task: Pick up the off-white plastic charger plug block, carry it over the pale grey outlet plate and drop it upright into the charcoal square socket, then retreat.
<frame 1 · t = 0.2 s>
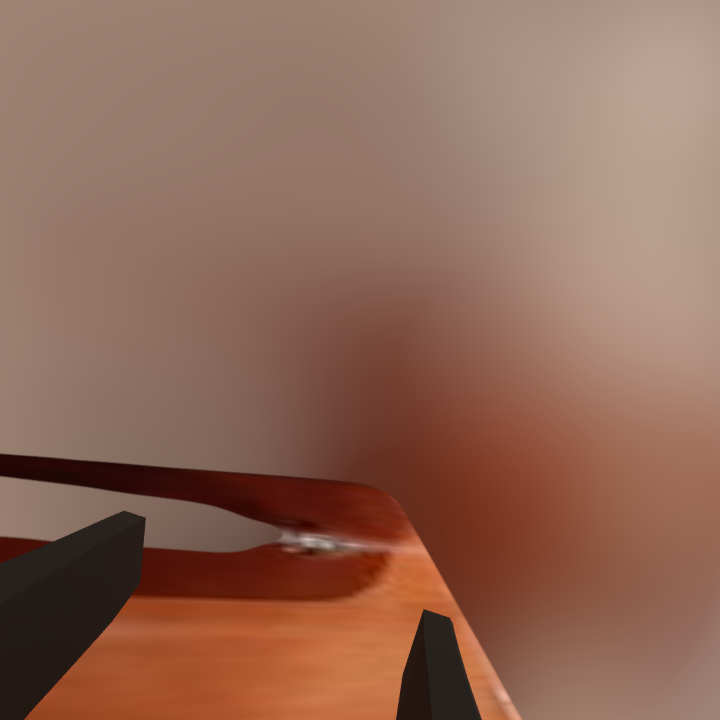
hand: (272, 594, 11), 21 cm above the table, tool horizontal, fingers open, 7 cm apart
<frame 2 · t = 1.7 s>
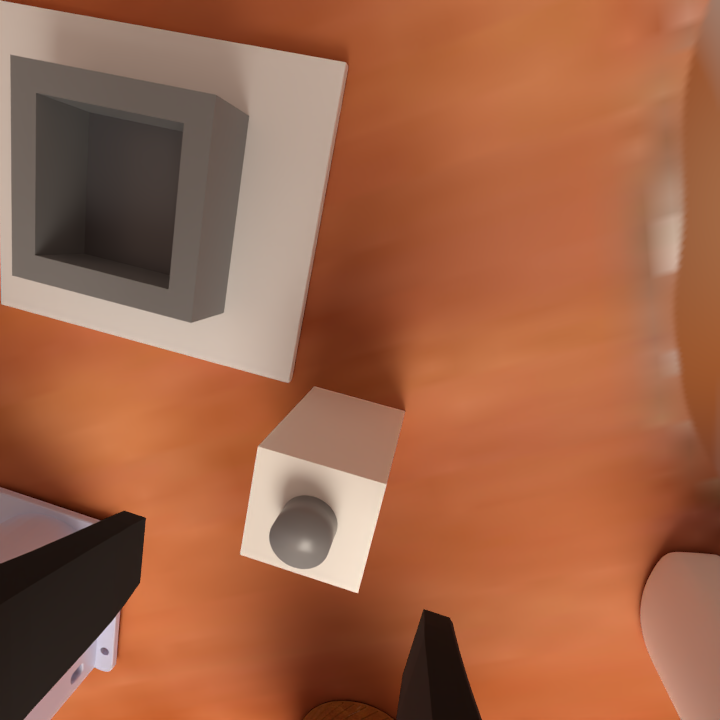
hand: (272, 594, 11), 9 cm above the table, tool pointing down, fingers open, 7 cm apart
eye dropper bottle: (681, 602, 19), on the table
charger plug block: (349, 440, 20), on the table
socket dock: (155, 201, 19), on the table
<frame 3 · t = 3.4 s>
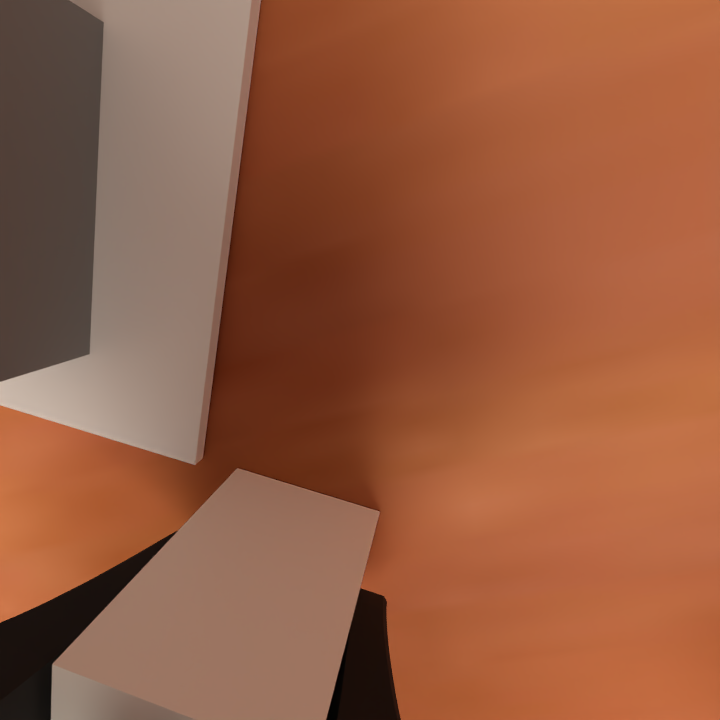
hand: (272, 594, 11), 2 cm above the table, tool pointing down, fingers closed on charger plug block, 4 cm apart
charger plug block: (294, 550, 13), on the table, touching gripper
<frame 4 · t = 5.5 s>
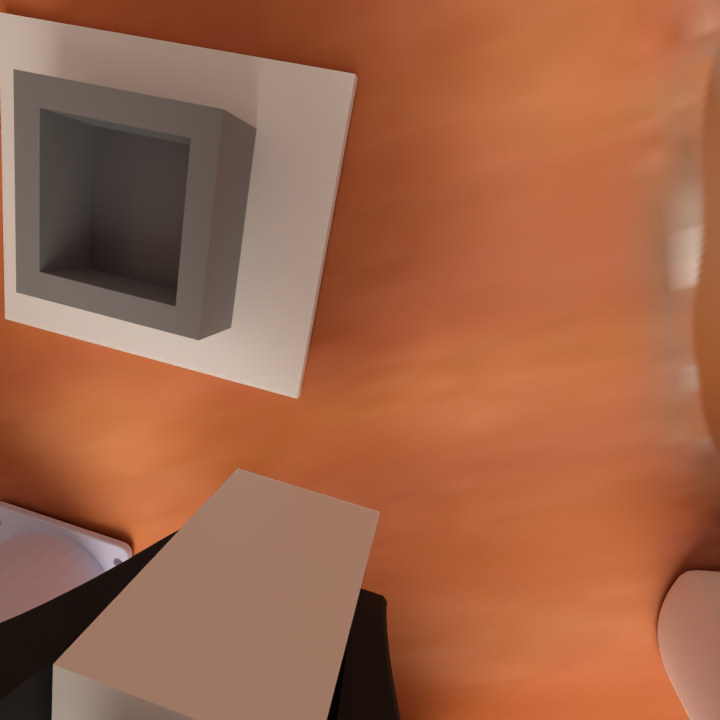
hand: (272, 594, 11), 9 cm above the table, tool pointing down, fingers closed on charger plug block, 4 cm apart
eye dropper bottle: (700, 620, 18), on the table
charger plug block: (294, 550, 13), point 7 cm above the table, touching gripper
socket dock: (161, 214, 18), on the table
when the fingers open (4 cm above the table, at t = 7.9 s): charger plug block drops 1 cm, resting on socket dock.
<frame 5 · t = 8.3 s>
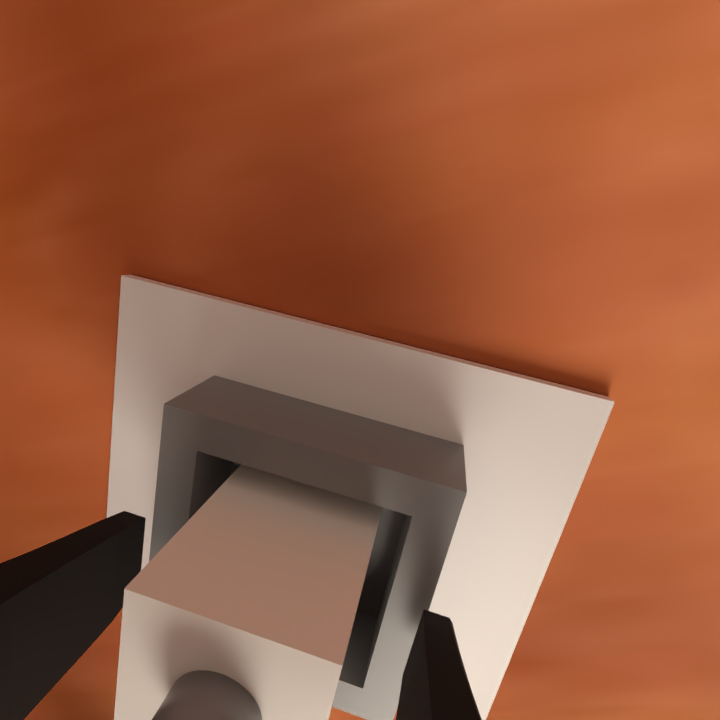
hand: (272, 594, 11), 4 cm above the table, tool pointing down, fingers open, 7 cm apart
charger plug block: (311, 519, 14), resting on socket dock
socket dock: (314, 510, 14), on the table
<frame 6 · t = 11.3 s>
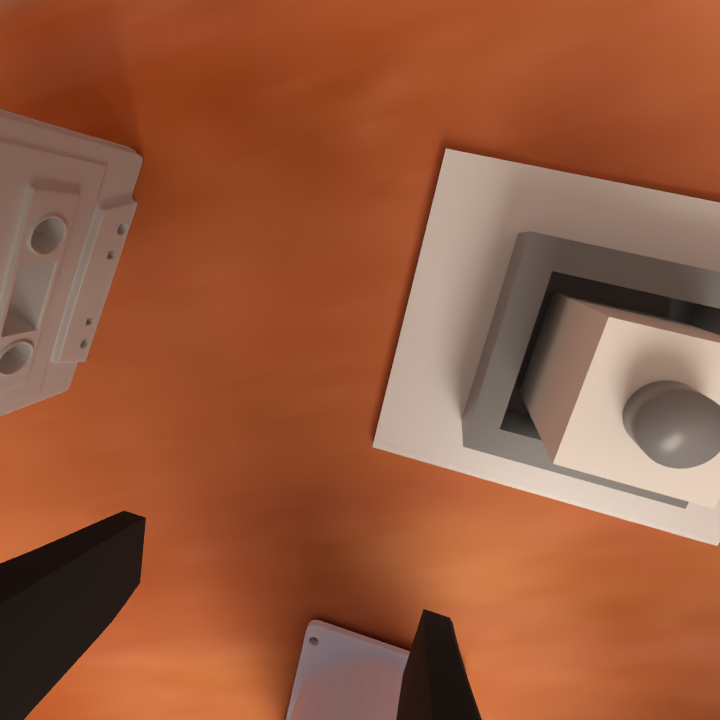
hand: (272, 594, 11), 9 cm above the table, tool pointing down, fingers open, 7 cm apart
cassette: (99, 278, 21), on the table
charger plug block: (590, 356, 17), resting on socket dock
socket dock: (585, 354, 17), on the table
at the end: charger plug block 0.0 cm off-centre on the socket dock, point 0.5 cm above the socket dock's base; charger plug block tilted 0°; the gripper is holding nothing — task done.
